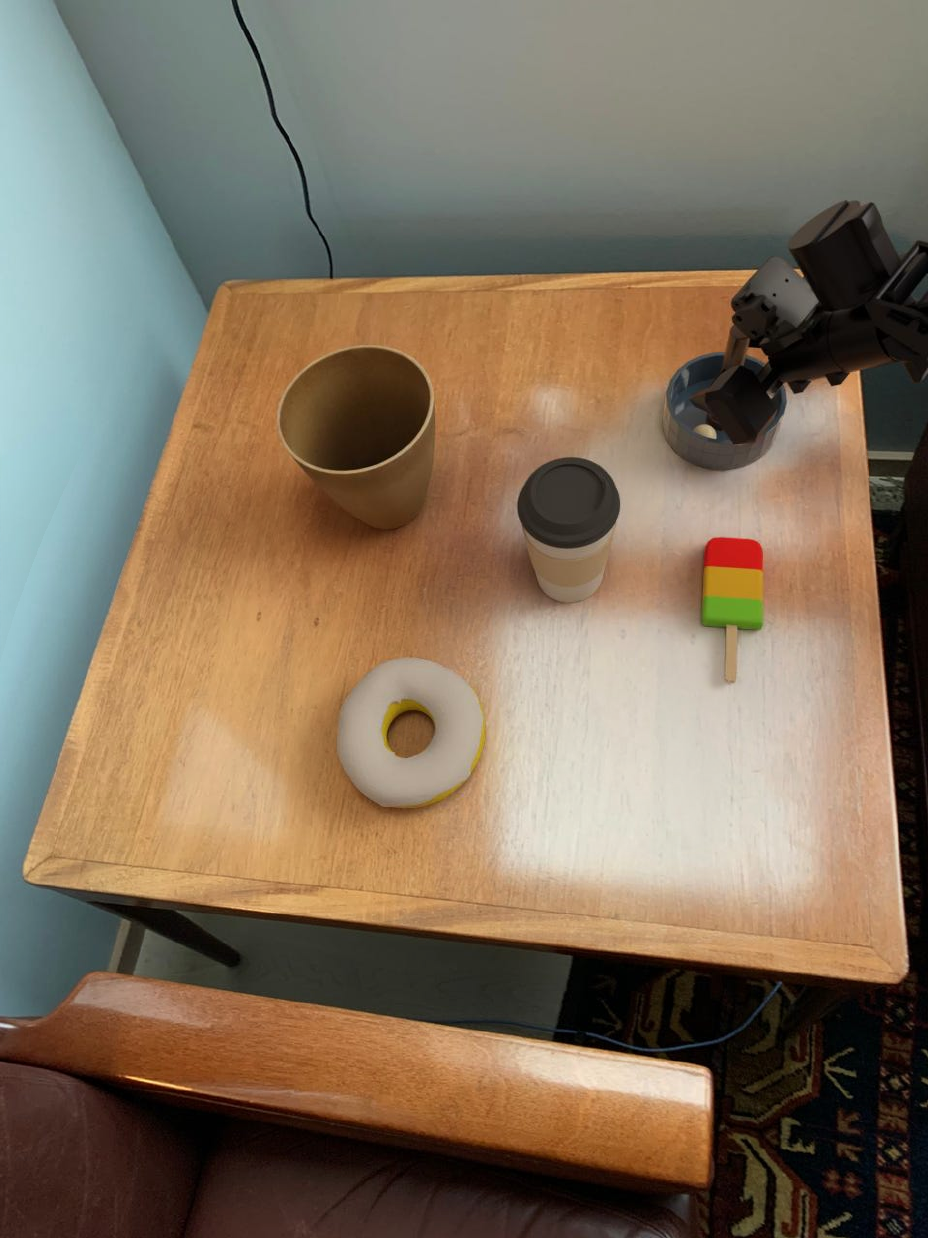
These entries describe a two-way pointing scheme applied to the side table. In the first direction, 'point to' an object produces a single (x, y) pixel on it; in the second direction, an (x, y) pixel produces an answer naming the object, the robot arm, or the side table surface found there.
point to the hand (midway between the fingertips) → (717, 371)
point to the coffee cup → (569, 525)
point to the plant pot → (363, 431)
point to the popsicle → (732, 591)
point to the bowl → (686, 417)
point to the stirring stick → (731, 361)
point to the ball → (705, 431)
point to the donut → (376, 708)
